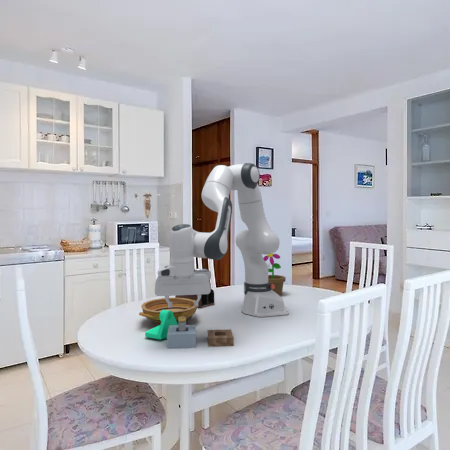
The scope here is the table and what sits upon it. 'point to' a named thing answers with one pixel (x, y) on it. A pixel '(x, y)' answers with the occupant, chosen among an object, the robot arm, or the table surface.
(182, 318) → the lock pin
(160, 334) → the camera mount
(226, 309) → the table surface
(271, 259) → the flowerpot
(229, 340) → the pin mount
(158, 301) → the ceramic bowl
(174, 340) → the dock
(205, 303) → the letter holder
